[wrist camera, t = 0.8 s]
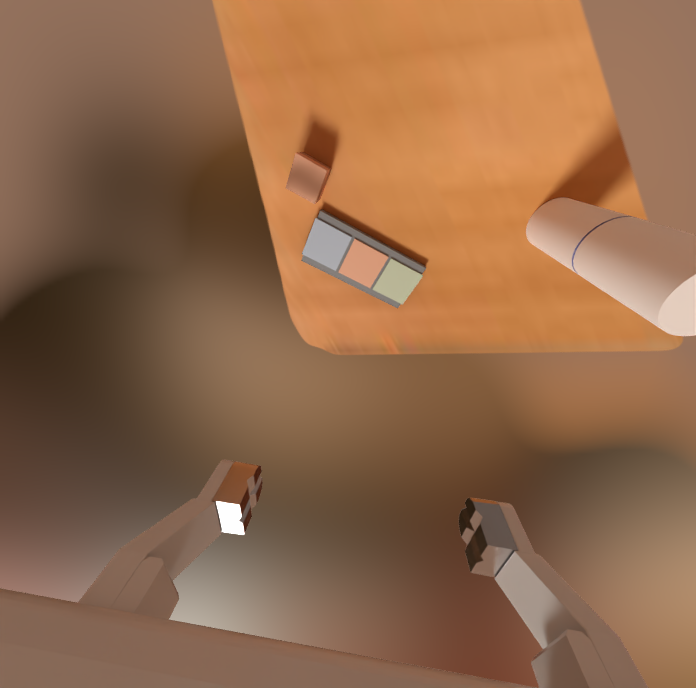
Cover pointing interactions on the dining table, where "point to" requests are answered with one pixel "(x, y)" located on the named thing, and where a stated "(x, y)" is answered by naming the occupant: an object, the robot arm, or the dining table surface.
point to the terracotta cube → (308, 177)
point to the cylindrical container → (623, 259)
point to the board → (361, 260)
